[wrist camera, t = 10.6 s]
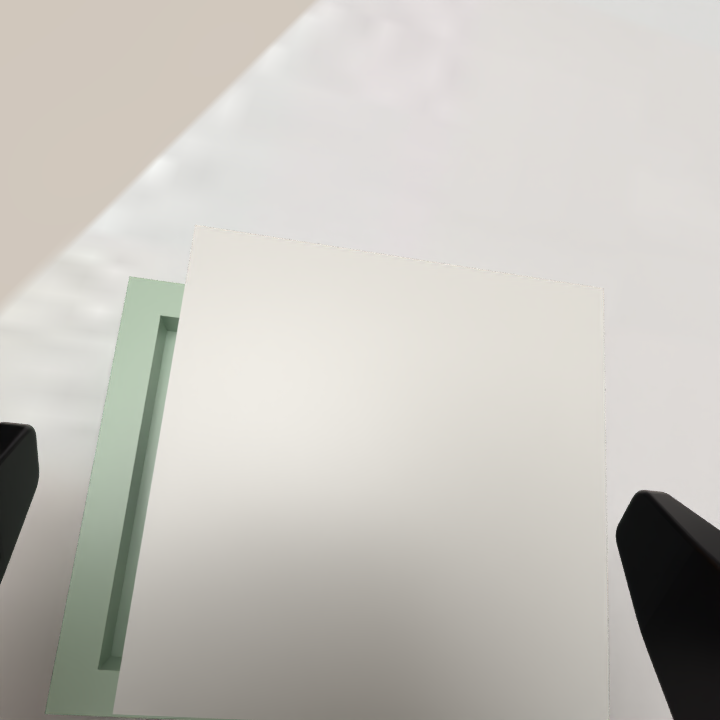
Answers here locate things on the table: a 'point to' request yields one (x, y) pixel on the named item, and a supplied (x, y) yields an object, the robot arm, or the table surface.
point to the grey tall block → (374, 494)
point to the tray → (117, 506)
